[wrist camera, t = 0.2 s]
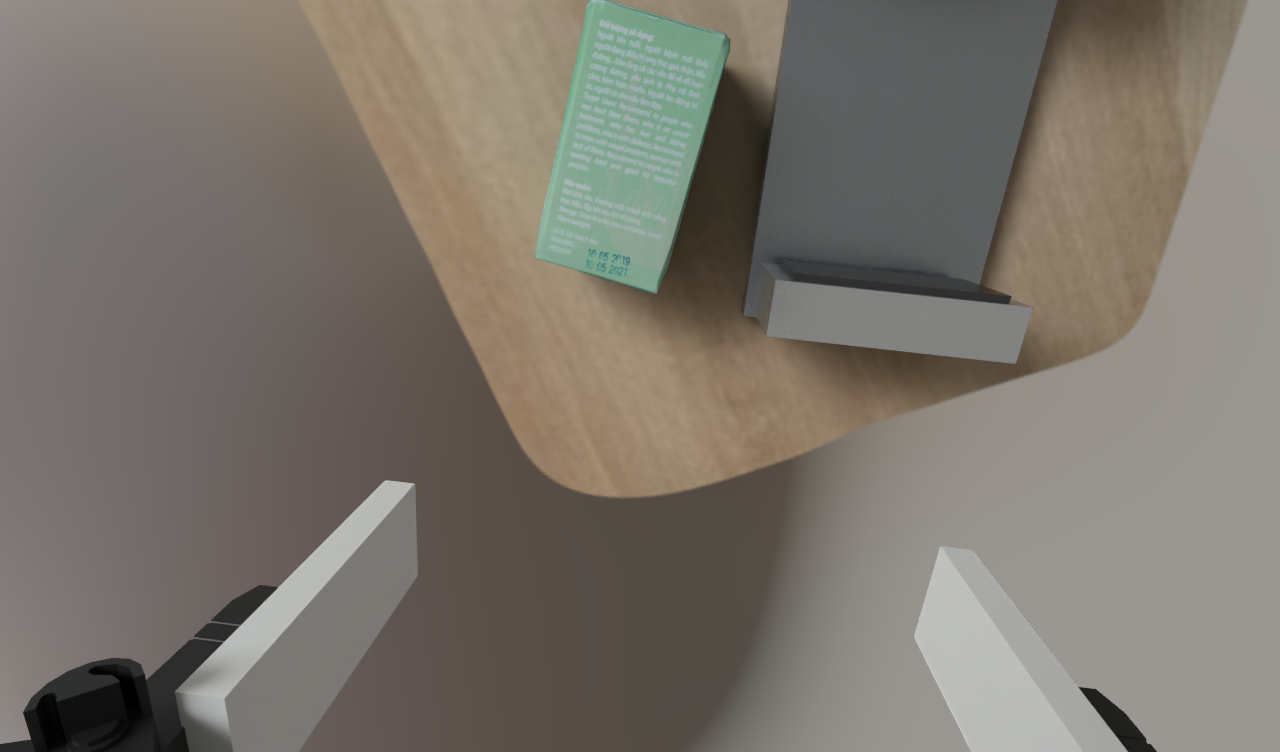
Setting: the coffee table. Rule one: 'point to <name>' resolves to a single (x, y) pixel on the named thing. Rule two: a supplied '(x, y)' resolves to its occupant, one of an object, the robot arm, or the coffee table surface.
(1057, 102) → the coffee table surface
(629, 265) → the box
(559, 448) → the coffee table surface
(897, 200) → the vise
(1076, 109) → the coffee table surface
